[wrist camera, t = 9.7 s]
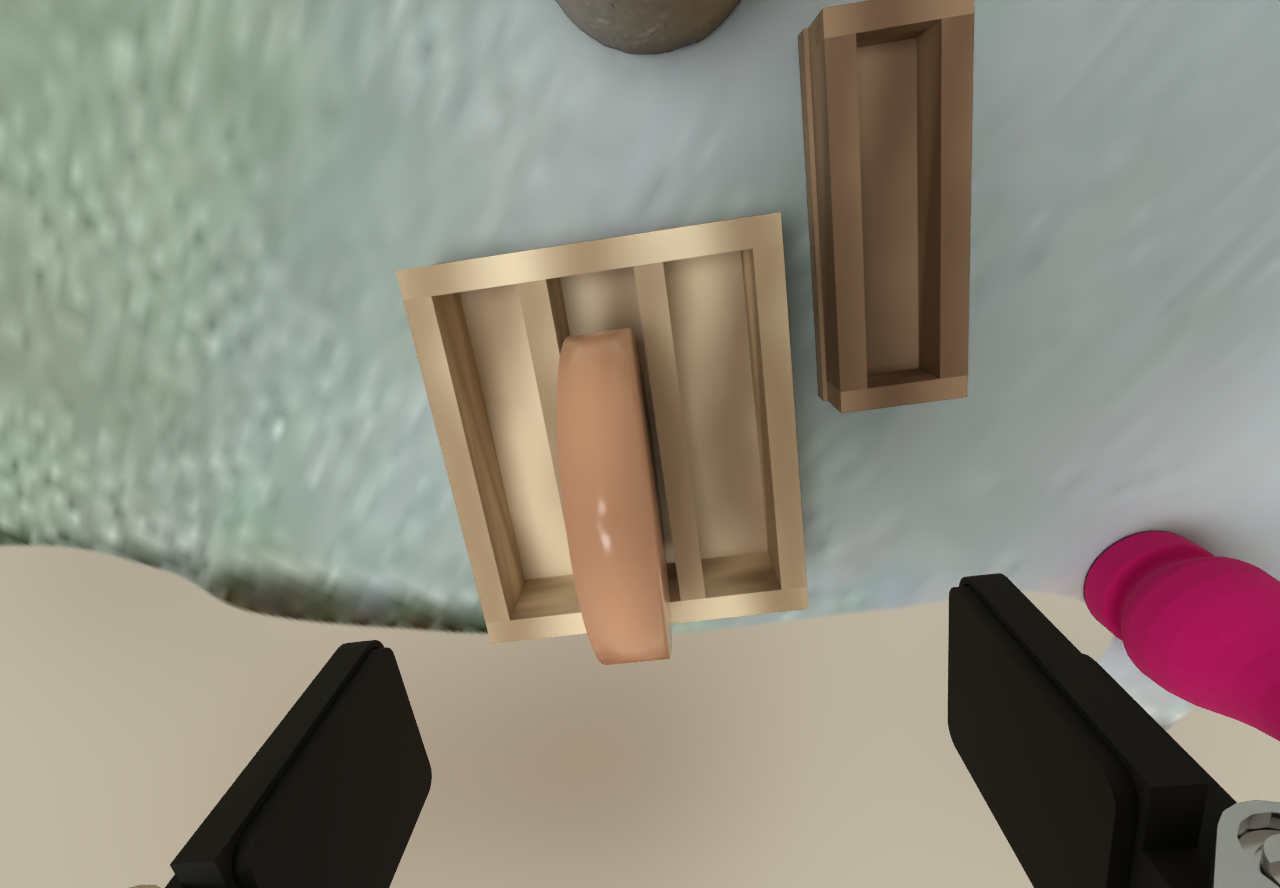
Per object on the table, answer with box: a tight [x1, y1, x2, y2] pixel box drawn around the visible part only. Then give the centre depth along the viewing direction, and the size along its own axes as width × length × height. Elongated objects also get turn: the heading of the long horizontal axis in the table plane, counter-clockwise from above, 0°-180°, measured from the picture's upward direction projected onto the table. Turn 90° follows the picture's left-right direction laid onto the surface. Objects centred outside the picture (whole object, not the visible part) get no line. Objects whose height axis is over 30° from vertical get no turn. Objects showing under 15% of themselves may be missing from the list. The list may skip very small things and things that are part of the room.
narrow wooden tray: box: [798, 0, 974, 413], centre depth 28 cm, size 6×16×3 cm, turn 8°
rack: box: [396, 212, 809, 644], centre depth 30 cm, size 16×18×5 cm
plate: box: [557, 328, 672, 665], centre depth 25 cm, size 2×13×13 cm, turn 8°
